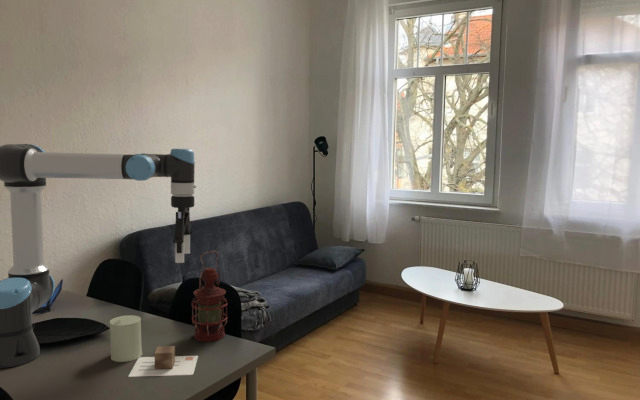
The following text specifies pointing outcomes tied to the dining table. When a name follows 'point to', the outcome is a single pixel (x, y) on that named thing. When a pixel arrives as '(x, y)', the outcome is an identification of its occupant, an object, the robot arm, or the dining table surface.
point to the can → (125, 338)
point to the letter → (147, 368)
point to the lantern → (209, 307)
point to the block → (164, 357)
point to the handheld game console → (50, 300)
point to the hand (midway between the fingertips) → (182, 257)
